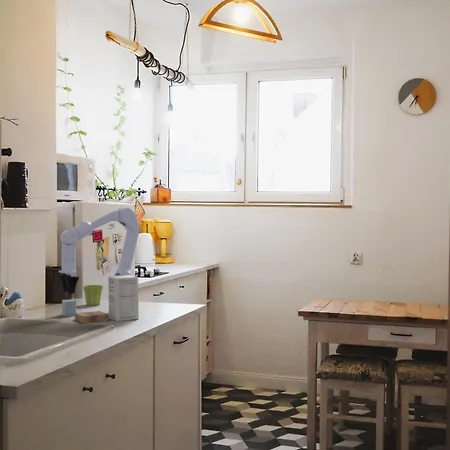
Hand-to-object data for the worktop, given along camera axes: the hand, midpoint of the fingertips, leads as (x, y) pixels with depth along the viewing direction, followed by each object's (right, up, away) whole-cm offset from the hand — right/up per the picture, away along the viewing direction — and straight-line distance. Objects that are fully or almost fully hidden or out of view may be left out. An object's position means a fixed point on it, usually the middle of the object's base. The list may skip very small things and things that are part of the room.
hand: (68, 292), depth 257 cm
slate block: (0, -9, 0) cm, 9 cm away
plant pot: (+4, -9, +30) cm, 31 cm away
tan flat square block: (+12, -10, -13) cm, 20 cm away
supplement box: (+24, -10, -9) cm, 27 cm away
